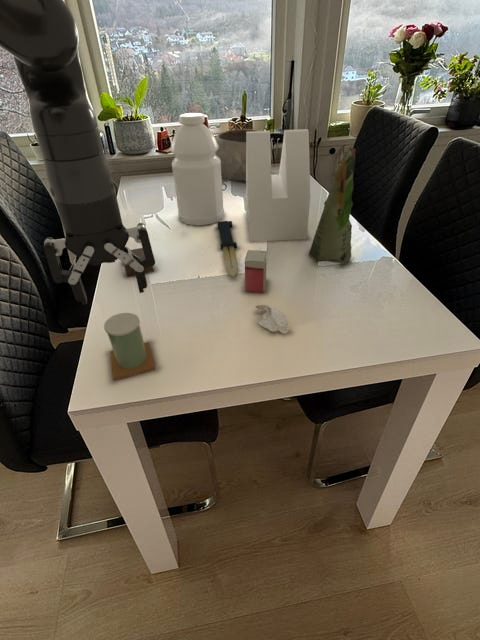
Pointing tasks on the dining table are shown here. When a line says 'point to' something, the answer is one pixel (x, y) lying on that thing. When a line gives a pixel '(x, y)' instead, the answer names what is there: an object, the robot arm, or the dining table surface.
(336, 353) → the dining table surface
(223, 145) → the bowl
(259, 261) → the small box
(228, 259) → the knife
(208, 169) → the bottle
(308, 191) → the white slotted block
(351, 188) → the pouch
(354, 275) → the dining table surface
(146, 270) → the walnut wood block
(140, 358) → the tumbler
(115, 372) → the coaster
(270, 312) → the tissue
